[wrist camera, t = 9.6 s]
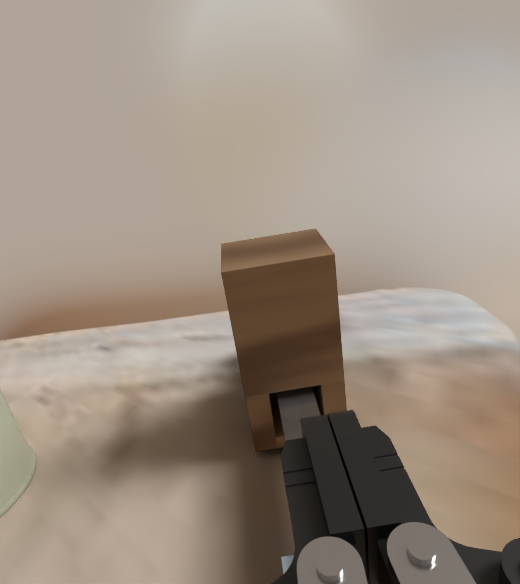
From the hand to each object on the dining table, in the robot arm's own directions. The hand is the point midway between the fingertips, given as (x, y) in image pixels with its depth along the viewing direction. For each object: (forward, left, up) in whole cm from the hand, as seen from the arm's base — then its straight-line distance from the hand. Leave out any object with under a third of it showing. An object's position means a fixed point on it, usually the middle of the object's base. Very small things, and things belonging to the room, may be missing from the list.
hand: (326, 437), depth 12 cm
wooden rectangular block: (-9, +11, -12) cm, 19 cm away
